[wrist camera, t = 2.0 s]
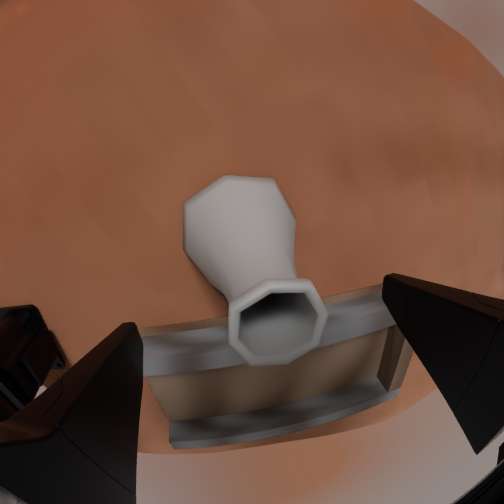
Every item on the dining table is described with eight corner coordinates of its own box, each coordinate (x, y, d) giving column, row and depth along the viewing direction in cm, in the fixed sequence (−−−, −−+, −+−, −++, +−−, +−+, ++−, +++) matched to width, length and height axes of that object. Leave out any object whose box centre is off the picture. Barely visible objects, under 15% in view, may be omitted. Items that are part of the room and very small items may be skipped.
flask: (303, 266, 19) (378, 365, 10) (200, 295, 18) (204, 420, 9) (283, 160, 16) (379, 182, 7) (165, 191, 16) (114, 253, 6)
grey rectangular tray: (174, 421, 23) (174, 449, 20) (129, 329, 18) (120, 361, 15) (381, 374, 25) (396, 396, 22) (402, 277, 21) (427, 297, 18)
